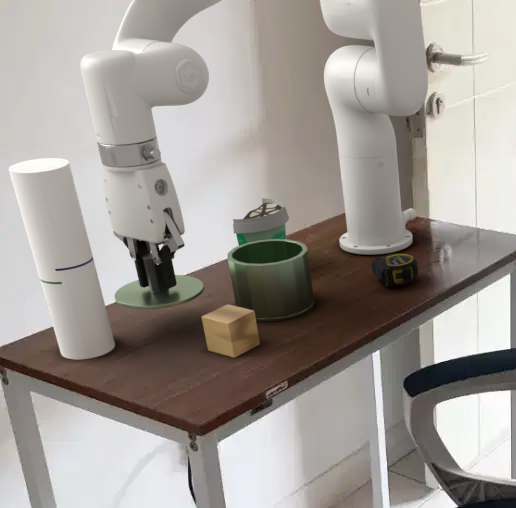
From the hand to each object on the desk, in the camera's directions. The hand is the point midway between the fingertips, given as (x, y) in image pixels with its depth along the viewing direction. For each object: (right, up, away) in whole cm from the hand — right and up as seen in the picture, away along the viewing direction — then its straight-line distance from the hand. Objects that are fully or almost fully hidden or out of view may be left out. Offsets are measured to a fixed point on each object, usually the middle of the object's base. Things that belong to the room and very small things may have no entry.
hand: (158, 285), depth 142 cm
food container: (+12, +7, +22) cm, 26 cm away
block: (+12, -9, -4) cm, 15 cm away
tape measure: (+32, +3, +16) cm, 35 cm away
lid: (0, -1, +1) cm, 1 cm away
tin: (+15, -1, +9) cm, 17 cm away
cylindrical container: (-9, -10, -3) cm, 13 cm away
